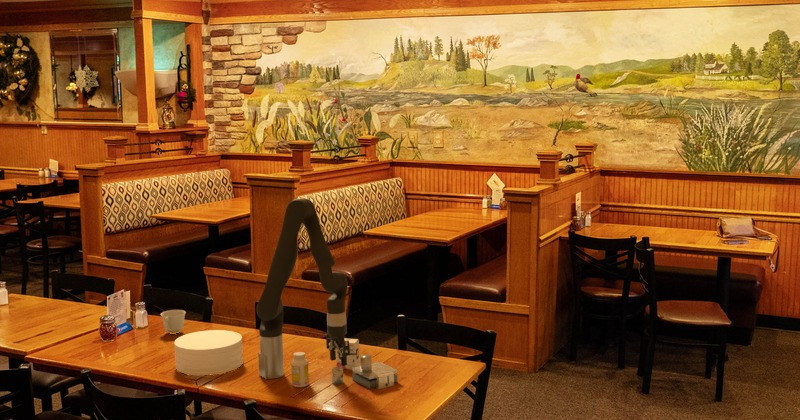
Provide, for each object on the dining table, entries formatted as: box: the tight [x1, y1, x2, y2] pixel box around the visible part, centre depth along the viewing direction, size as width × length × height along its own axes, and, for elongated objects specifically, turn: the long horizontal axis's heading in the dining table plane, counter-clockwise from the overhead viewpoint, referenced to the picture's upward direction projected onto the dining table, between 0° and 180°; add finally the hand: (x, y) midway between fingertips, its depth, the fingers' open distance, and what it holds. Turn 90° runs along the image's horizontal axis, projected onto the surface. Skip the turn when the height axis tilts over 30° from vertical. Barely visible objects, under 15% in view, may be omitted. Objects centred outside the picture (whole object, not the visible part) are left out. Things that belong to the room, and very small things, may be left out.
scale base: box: [351, 371, 399, 390], centre depth 335 cm, size 13×15×5 cm
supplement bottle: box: [290, 351, 310, 388], centre depth 332 cm, size 7×7×13 cm
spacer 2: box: [359, 354, 373, 373], centre depth 333 cm, size 4×4×6 cm
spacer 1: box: [331, 366, 344, 386], centre depth 334 cm, size 4×4×6 cm
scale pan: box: [352, 361, 398, 379], centre depth 335 cm, size 13×13×2 cm
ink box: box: [336, 337, 360, 370], centre depth 352 cm, size 8×5×12 cm, turn 73°
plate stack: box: [173, 329, 244, 376], centre depth 358 cm, size 28×28×12 cm
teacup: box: [160, 309, 187, 333], centre depth 405 cm, size 12×15×10 cm
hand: (338, 362), depth 334 cm, fingers open, 8 cm apart
